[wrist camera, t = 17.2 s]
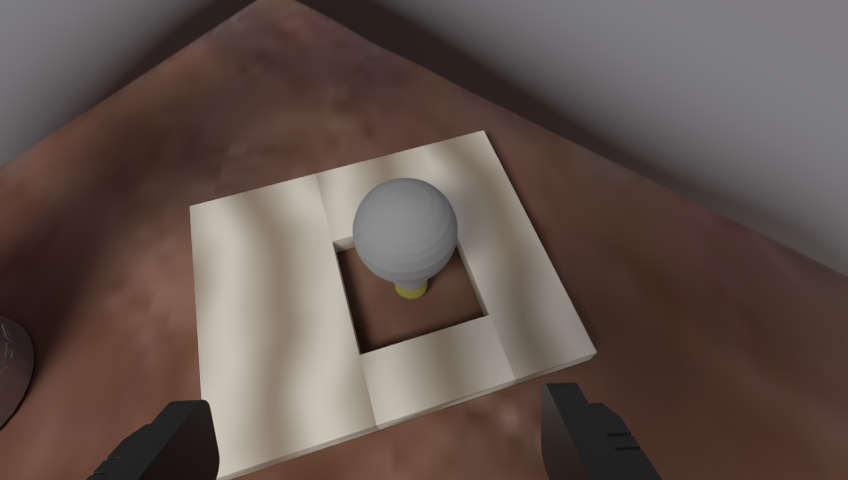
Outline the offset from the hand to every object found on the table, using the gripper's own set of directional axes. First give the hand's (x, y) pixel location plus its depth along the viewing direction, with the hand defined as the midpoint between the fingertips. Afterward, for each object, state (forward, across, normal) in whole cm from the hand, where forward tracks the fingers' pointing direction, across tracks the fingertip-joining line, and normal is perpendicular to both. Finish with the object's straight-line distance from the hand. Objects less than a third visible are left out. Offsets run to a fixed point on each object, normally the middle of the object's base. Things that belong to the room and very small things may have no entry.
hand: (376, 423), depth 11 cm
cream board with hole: (+20, +2, +3) cm, 20 cm away
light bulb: (+19, 0, +4) cm, 20 cm away
